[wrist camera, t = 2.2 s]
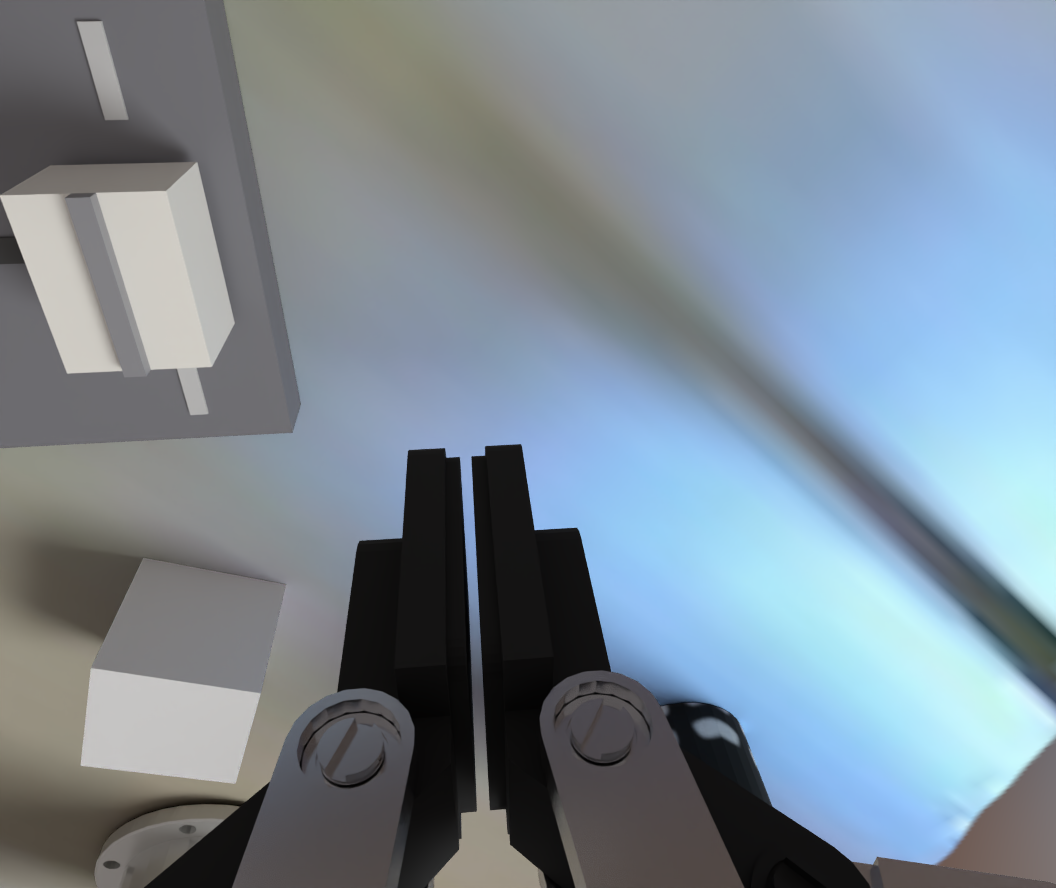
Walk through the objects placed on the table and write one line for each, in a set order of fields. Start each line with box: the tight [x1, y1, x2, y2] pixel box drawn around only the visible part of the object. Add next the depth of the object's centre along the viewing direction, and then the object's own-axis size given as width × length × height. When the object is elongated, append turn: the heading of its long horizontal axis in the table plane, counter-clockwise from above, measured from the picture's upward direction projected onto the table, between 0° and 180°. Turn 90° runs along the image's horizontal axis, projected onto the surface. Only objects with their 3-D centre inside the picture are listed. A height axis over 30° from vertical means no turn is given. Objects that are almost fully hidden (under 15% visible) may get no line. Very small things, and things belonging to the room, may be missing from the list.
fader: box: [0, 162, 235, 377], centre depth 22 cm, size 5×4×3 cm
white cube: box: [81, 558, 286, 784], centre depth 32 cm, size 6×6×6 cm
